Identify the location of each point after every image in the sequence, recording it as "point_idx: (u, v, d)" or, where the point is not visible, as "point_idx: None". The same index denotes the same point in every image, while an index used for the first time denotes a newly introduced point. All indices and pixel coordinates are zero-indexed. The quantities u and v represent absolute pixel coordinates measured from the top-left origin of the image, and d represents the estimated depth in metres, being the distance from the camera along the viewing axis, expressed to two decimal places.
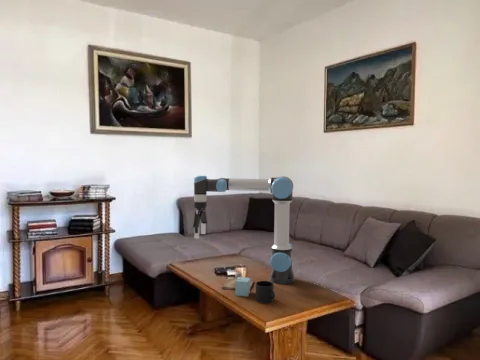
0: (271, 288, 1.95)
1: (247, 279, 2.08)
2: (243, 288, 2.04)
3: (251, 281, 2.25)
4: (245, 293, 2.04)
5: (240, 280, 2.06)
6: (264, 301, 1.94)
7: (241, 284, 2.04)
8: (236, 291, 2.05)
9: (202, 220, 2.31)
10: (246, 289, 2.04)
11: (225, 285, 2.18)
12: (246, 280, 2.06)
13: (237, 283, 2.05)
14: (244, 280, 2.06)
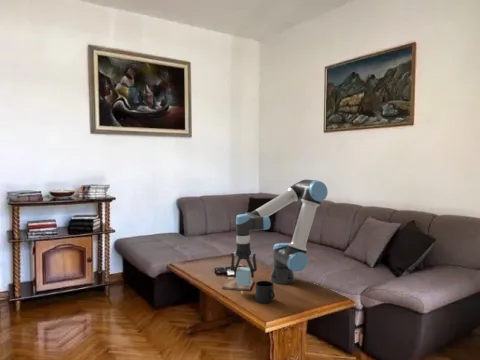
0: (271, 288, 1.95)
1: (248, 269, 2.08)
2: (244, 278, 2.04)
3: None
4: (246, 283, 2.04)
5: (241, 270, 2.06)
6: (264, 301, 1.94)
7: (242, 274, 2.04)
8: (237, 281, 2.05)
9: None
10: (247, 279, 2.04)
11: (225, 285, 2.18)
12: (247, 270, 2.06)
13: (238, 273, 2.04)
14: (245, 270, 2.06)
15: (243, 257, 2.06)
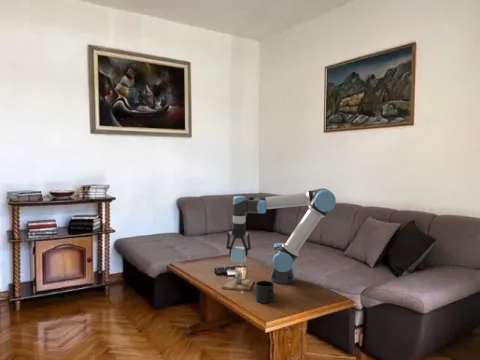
0: (271, 288, 1.95)
1: (242, 248, 2.21)
2: (239, 255, 2.17)
3: (251, 281, 2.25)
4: (240, 260, 2.17)
5: (236, 248, 2.19)
6: (264, 301, 1.94)
7: (237, 252, 2.17)
8: (232, 258, 2.18)
9: None
10: (241, 256, 2.17)
11: (225, 285, 2.18)
12: (241, 248, 2.19)
13: (233, 251, 2.17)
14: (240, 248, 2.19)
15: (238, 236, 2.19)
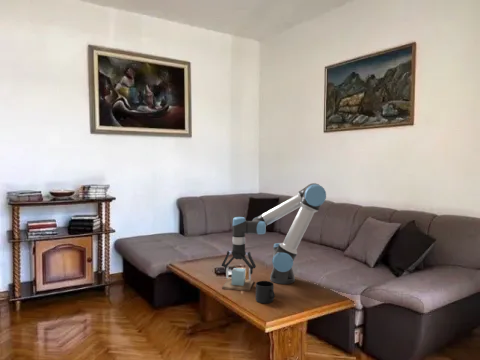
0: (271, 288, 1.95)
1: (242, 270, 2.21)
2: (239, 278, 2.18)
3: (251, 281, 2.25)
4: (240, 282, 2.18)
5: (236, 270, 2.19)
6: (264, 301, 1.94)
7: (237, 274, 2.18)
8: (232, 281, 2.19)
9: None
10: (241, 279, 2.17)
11: (225, 285, 2.18)
12: (241, 270, 2.20)
13: (233, 273, 2.18)
14: (240, 270, 2.20)
15: (238, 257, 2.20)
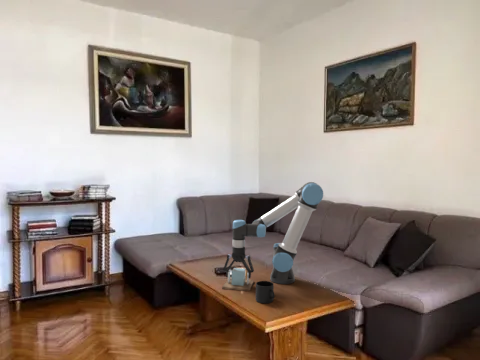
0: (271, 288, 1.95)
1: (242, 270, 2.21)
2: (239, 278, 2.18)
3: (251, 281, 2.25)
4: (240, 282, 2.18)
5: (236, 270, 2.19)
6: (264, 301, 1.94)
7: (237, 274, 2.18)
8: (232, 281, 2.19)
9: None
10: (241, 279, 2.17)
11: (225, 285, 2.18)
12: (241, 270, 2.20)
13: (233, 273, 2.18)
14: (240, 270, 2.20)
15: (238, 260, 2.20)
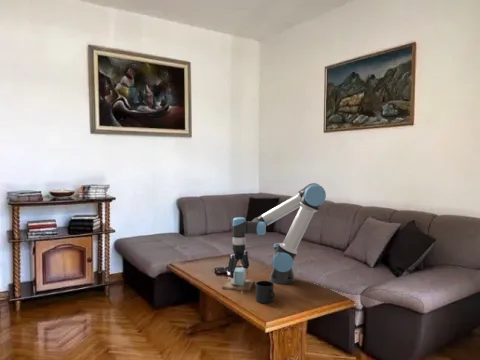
0: (271, 288, 1.95)
1: (242, 269, 2.21)
2: (239, 278, 2.18)
3: (251, 281, 2.25)
4: (241, 282, 2.18)
5: (236, 270, 2.19)
6: (264, 301, 1.94)
7: (237, 274, 2.18)
8: None
9: (243, 264, 2.25)
10: (241, 278, 2.17)
11: (225, 285, 2.18)
12: (241, 270, 2.20)
13: None
14: (240, 270, 2.20)
15: (240, 257, 2.20)
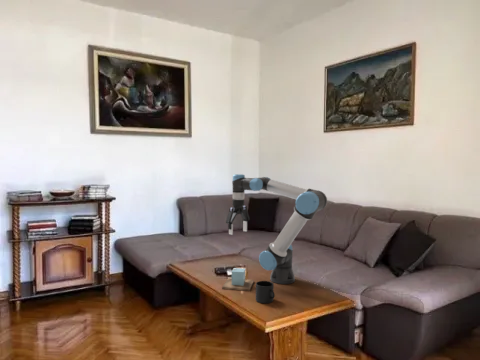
0: (271, 288, 1.95)
1: (242, 269, 2.21)
2: (239, 278, 2.18)
3: (251, 281, 2.25)
4: (241, 282, 2.18)
5: (236, 270, 2.20)
6: (264, 301, 1.94)
7: (237, 274, 2.18)
8: (232, 281, 2.19)
9: (243, 218, 2.37)
10: (241, 279, 2.18)
11: (225, 285, 2.18)
12: (241, 270, 2.20)
13: (233, 273, 2.18)
14: (240, 270, 2.20)
15: (239, 212, 2.32)
